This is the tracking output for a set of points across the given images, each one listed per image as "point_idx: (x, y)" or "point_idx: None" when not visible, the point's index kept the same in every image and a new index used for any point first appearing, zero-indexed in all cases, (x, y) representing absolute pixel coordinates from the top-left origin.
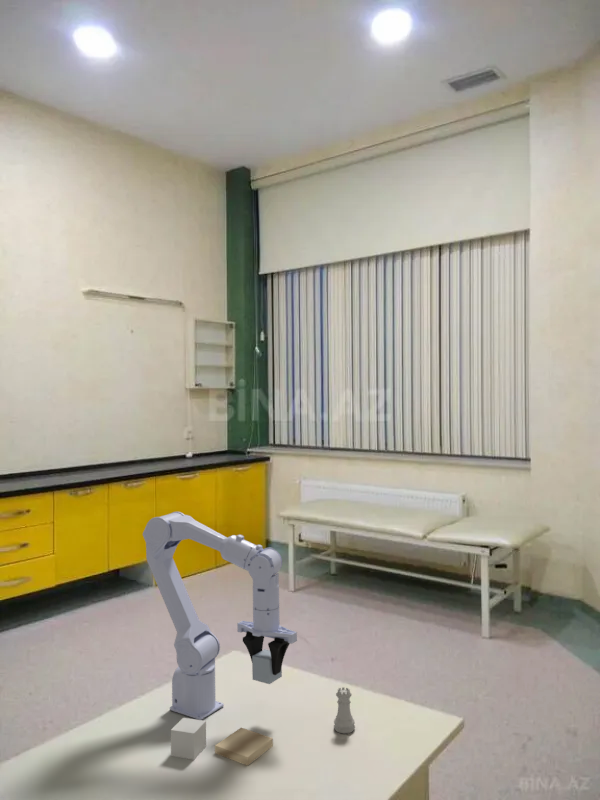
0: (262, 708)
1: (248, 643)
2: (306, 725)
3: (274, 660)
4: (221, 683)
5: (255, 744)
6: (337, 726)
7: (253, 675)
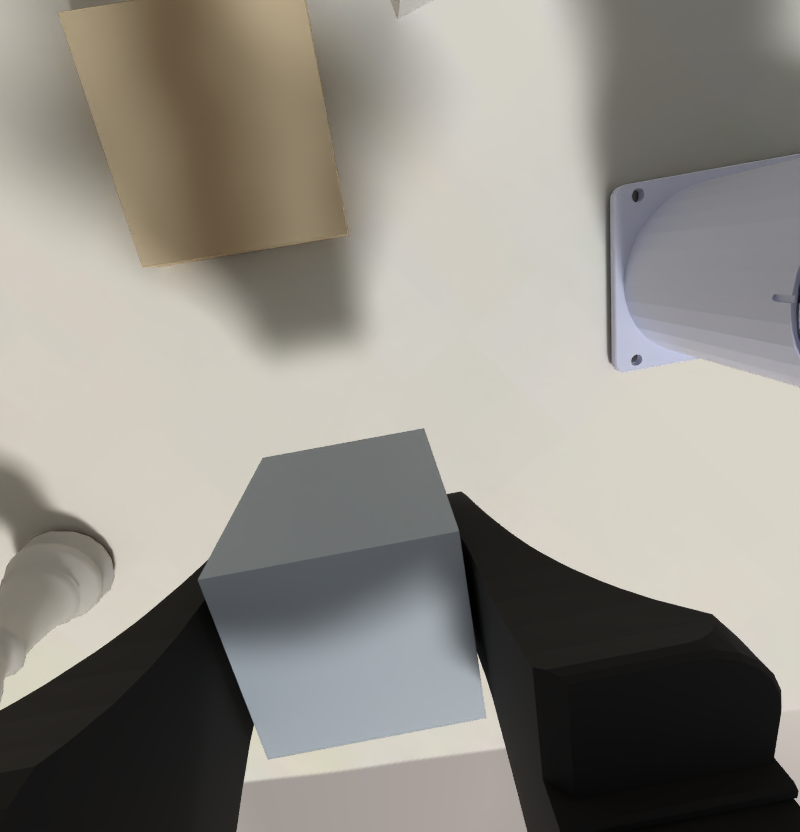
0: (456, 467)
1: (571, 630)
2: (203, 488)
3: (161, 613)
4: (763, 500)
5: (148, 154)
6: (52, 543)
7: (418, 443)
